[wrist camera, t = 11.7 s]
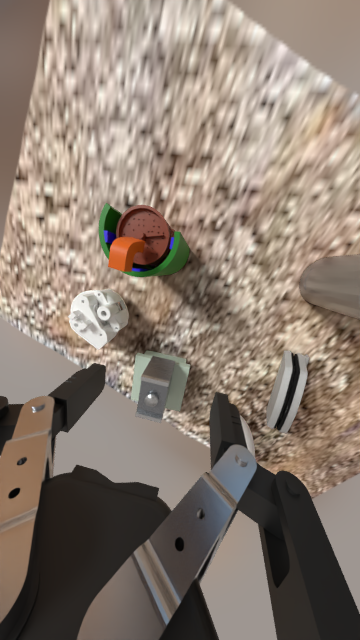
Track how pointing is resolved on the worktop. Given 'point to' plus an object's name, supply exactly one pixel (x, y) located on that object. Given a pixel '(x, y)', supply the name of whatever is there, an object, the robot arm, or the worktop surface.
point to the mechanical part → (98, 316)
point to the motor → (141, 242)
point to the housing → (155, 388)
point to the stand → (176, 384)
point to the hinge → (287, 391)
